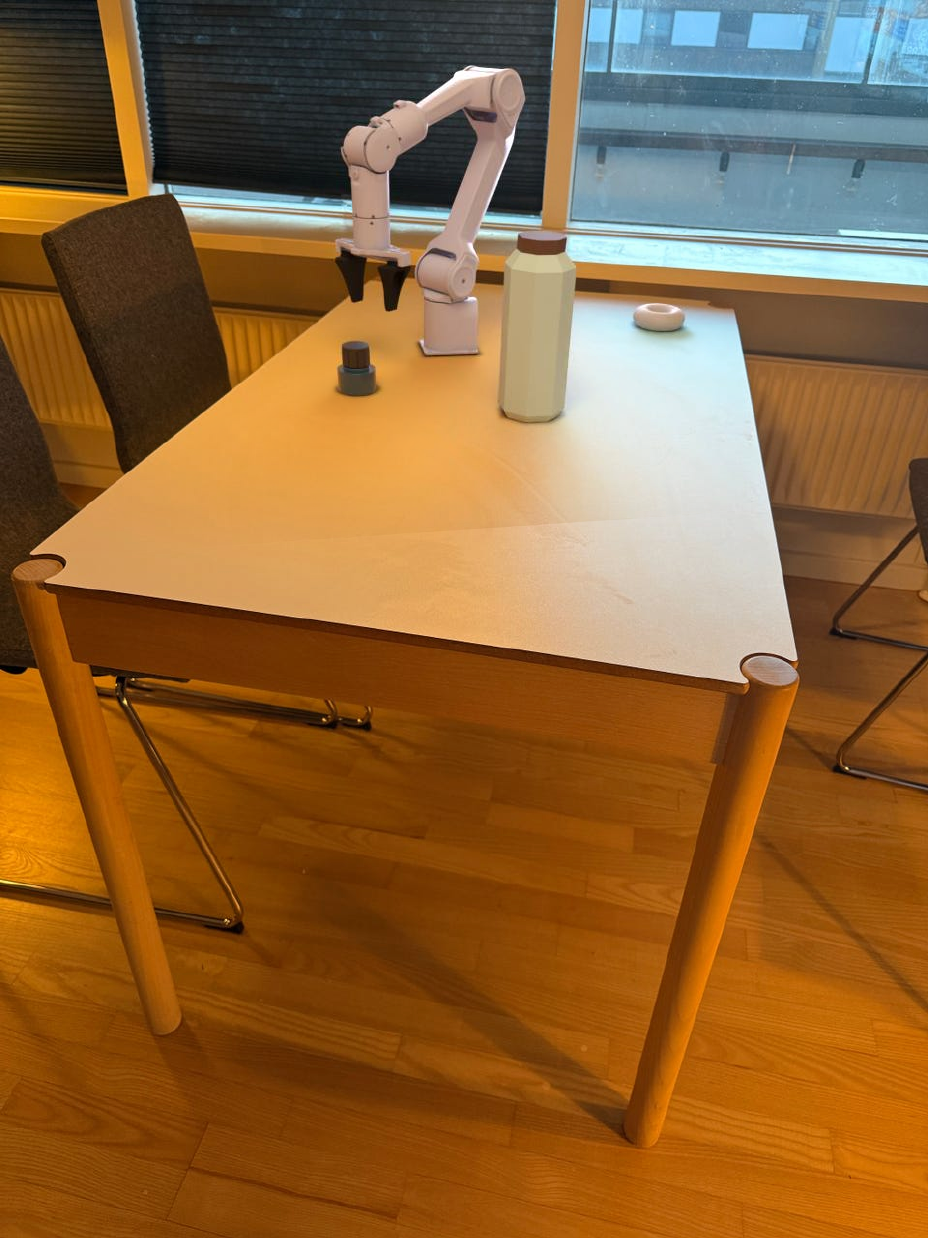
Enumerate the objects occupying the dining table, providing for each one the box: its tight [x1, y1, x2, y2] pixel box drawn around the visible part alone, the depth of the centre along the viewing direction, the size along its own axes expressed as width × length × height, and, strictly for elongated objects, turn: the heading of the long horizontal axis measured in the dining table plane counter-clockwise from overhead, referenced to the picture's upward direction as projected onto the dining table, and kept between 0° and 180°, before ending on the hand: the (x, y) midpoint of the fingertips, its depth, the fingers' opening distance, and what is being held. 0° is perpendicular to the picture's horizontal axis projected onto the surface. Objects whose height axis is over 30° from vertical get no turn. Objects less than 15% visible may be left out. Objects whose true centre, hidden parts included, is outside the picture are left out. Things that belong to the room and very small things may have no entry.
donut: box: [632, 303, 686, 332], centre depth 173 cm, size 10×4×10 cm
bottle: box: [336, 363, 377, 397], centre depth 139 cm, size 6×6×6 cm
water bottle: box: [497, 230, 578, 424], centre depth 127 cm, size 10×10×25 cm
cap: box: [341, 340, 371, 368], centre depth 137 cm, size 4×4×3 cm
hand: (373, 305), depth 145 cm, fingers open, 7 cm apart
